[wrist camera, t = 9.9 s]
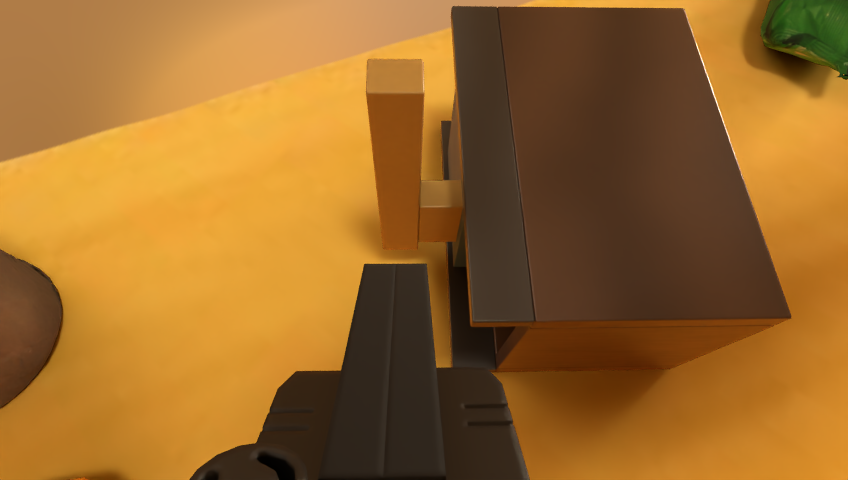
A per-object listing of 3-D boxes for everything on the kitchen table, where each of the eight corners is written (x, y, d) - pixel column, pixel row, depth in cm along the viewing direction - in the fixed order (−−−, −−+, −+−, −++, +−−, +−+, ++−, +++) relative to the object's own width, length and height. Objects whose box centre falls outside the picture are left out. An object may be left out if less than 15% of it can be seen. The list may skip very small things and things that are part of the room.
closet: (614, 126, 36) (684, 7, 27) (670, 369, 28) (793, 318, 19) (440, 126, 35) (451, 5, 26) (451, 373, 28) (472, 322, 19)
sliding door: (459, 151, 33) (491, -50, 20) (466, 266, 29) (511, 109, 17) (385, 151, 33) (370, -51, 20) (383, 267, 29) (365, 109, 17)
